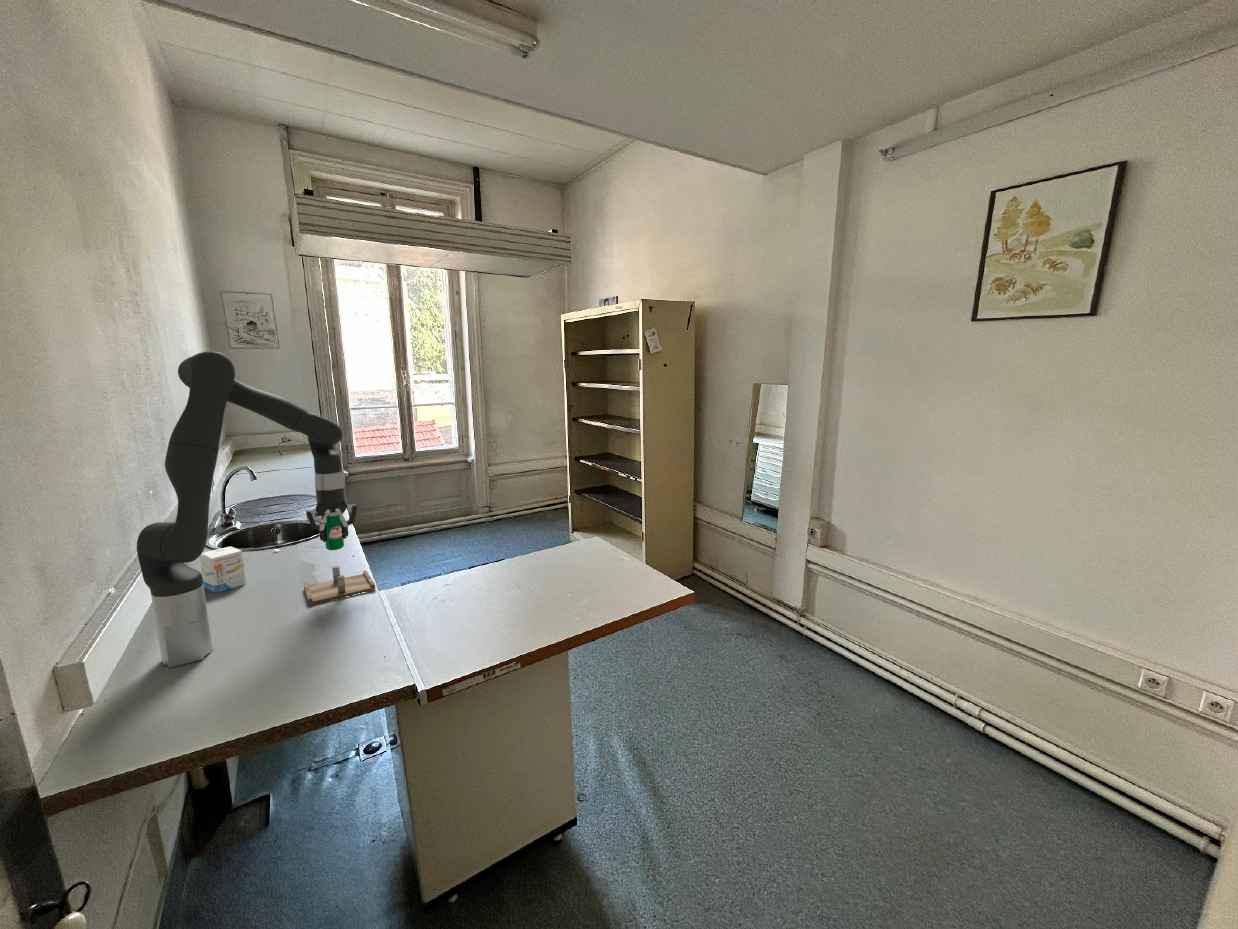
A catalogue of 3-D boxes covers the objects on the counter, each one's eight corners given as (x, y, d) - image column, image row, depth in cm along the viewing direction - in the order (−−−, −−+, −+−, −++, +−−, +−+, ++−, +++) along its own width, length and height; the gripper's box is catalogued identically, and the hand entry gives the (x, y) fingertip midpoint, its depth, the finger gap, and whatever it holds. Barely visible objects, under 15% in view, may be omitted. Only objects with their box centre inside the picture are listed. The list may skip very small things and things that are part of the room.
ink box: (215, 594, 150) (210, 558, 148) (203, 588, 154) (198, 553, 152) (247, 584, 157) (242, 550, 155) (234, 578, 162) (230, 545, 160)
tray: (375, 590, 154) (374, 572, 153) (308, 606, 143) (306, 586, 142) (366, 576, 165) (365, 559, 164) (304, 589, 154) (302, 571, 153)
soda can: (331, 552, 148) (327, 514, 146) (322, 548, 150) (318, 511, 148) (347, 547, 152) (344, 510, 150) (338, 544, 155) (335, 508, 153)
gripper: (303, 491, 141) (308, 547, 144) (358, 485, 149) (362, 538, 152) (300, 487, 146) (306, 540, 149) (353, 481, 155) (358, 532, 158)
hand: (334, 539), depth 151 cm, fingers closed on soda can, 5 cm apart
